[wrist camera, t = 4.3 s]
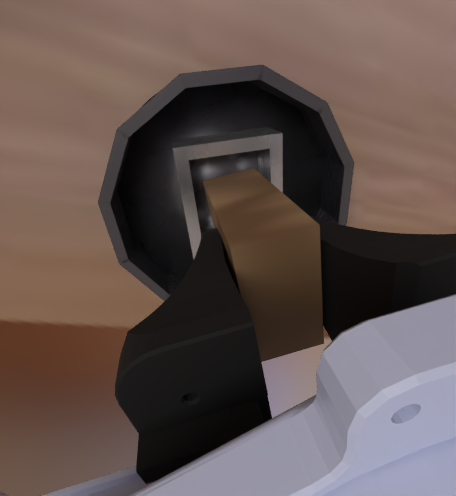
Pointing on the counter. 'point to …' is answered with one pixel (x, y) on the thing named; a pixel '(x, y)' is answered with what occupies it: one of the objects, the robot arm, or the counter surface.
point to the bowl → (215, 163)
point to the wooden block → (270, 260)
